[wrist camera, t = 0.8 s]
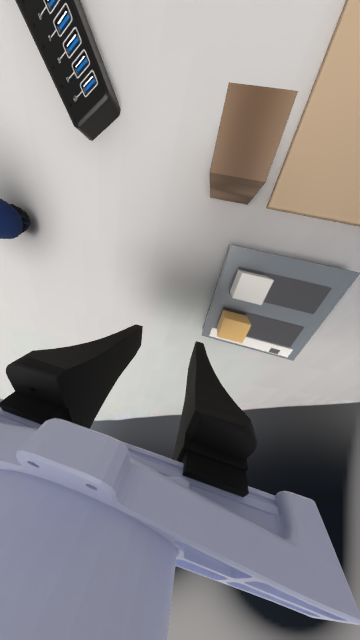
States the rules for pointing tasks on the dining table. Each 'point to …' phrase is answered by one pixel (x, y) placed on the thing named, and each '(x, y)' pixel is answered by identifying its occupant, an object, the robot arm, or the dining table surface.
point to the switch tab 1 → (233, 326)
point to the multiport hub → (72, 62)
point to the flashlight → (12, 220)
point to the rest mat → (328, 136)
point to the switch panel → (278, 300)
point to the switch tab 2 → (250, 287)
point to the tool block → (248, 140)
